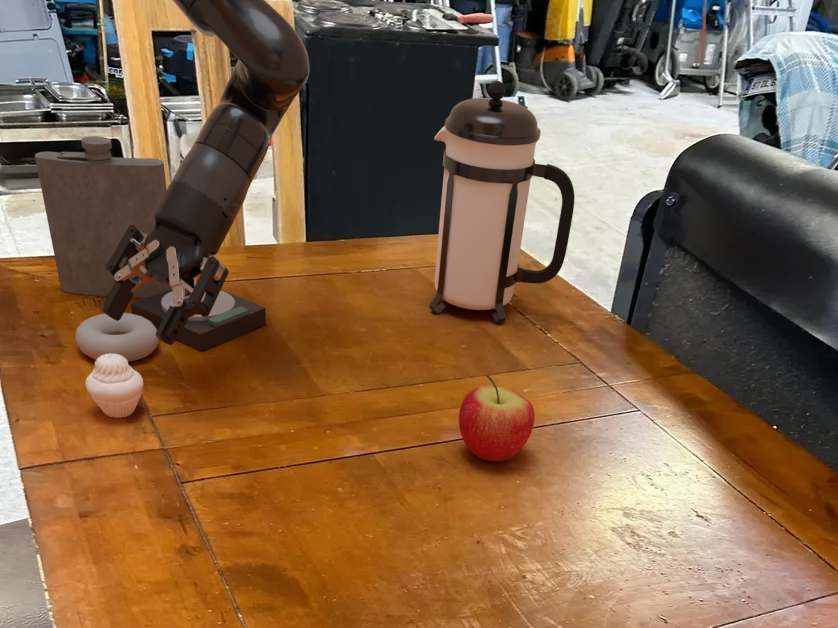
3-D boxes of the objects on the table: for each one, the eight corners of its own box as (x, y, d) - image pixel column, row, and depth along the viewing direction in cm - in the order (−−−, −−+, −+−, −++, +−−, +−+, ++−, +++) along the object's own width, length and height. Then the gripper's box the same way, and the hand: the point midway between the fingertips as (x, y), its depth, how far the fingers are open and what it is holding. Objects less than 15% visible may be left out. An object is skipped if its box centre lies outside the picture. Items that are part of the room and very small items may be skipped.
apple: (451, 434, 105) (460, 355, 98) (521, 436, 106) (535, 359, 99) (458, 472, 99) (468, 391, 92) (532, 475, 100) (547, 394, 93)
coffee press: (458, 335, 126) (484, 98, 106) (405, 292, 136) (420, 68, 116) (557, 319, 133) (598, 96, 114) (500, 279, 143) (529, 67, 123)
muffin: (152, 420, 101) (144, 363, 96) (96, 428, 98) (85, 370, 94) (141, 394, 105) (132, 339, 100) (86, 402, 102) (75, 345, 98)
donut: (153, 330, 118) (73, 335, 114) (150, 305, 116) (68, 309, 112) (166, 364, 111) (82, 371, 108) (164, 338, 109) (77, 344, 105)
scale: (132, 320, 119) (129, 299, 117) (199, 296, 127) (197, 275, 125) (201, 351, 114) (199, 329, 113) (266, 324, 122) (265, 303, 120)
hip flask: (179, 288, 129) (162, 138, 115) (175, 300, 126) (158, 147, 112) (63, 283, 126) (33, 129, 113) (57, 295, 123) (26, 138, 110)
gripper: (137, 163, 98) (69, 293, 98) (231, 196, 93) (159, 333, 92) (179, 203, 105) (115, 324, 105) (268, 236, 99) (202, 364, 99)
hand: (136, 328), depth 99 cm, fingers open, 8 cm apart
